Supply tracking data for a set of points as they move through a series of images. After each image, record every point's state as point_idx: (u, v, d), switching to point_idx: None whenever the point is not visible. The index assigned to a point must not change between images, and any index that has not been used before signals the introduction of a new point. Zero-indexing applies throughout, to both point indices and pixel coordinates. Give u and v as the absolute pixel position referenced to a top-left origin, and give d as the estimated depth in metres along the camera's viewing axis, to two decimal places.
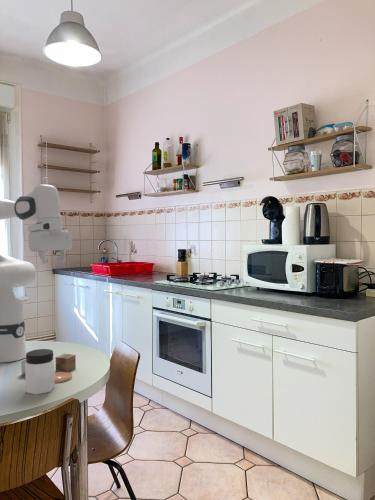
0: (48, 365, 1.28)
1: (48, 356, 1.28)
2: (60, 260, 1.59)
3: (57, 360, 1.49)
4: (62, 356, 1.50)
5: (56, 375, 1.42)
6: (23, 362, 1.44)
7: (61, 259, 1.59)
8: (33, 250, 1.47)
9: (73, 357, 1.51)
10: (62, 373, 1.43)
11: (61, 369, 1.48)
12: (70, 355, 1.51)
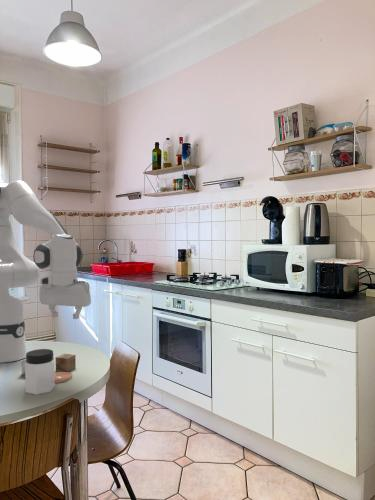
0: (48, 365, 1.28)
1: (48, 356, 1.28)
2: None
3: (57, 360, 1.49)
4: (62, 356, 1.50)
5: (56, 375, 1.42)
6: (23, 362, 1.44)
7: None
8: None
9: (73, 357, 1.51)
10: (62, 373, 1.43)
11: (61, 369, 1.48)
12: (70, 355, 1.51)
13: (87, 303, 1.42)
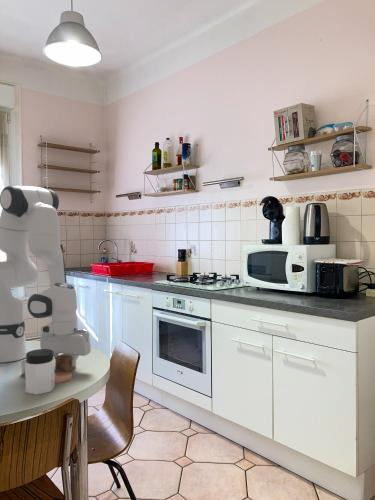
0: (48, 365, 1.28)
1: (48, 356, 1.28)
2: None
3: (57, 360, 1.49)
4: (62, 356, 1.50)
5: (56, 375, 1.42)
6: (23, 362, 1.44)
7: None
8: None
9: None
10: (62, 373, 1.43)
11: (61, 369, 1.48)
12: (70, 355, 1.51)
13: (87, 352, 1.46)
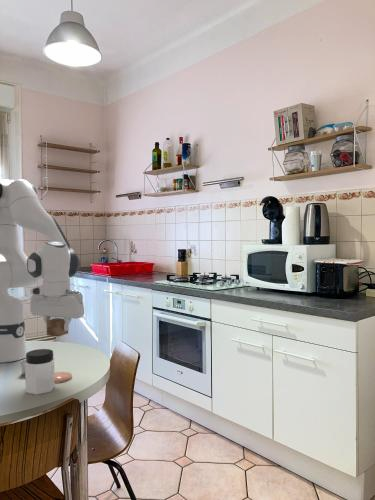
0: (48, 365, 1.28)
1: (48, 356, 1.28)
2: None
3: (48, 324, 1.38)
4: (54, 320, 1.39)
5: (56, 375, 1.42)
6: (23, 362, 1.44)
7: None
8: None
9: None
10: (62, 373, 1.43)
11: (52, 333, 1.38)
12: (62, 319, 1.41)
13: (80, 315, 1.36)
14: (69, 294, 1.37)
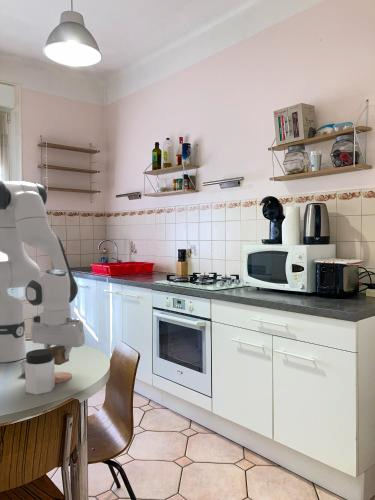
0: (48, 365, 1.28)
1: (48, 356, 1.28)
2: None
3: None
4: (54, 348, 1.40)
5: (56, 375, 1.42)
6: (23, 362, 1.44)
7: None
8: None
9: None
10: (62, 373, 1.43)
11: None
12: (63, 347, 1.41)
13: (81, 343, 1.36)
14: (70, 322, 1.37)
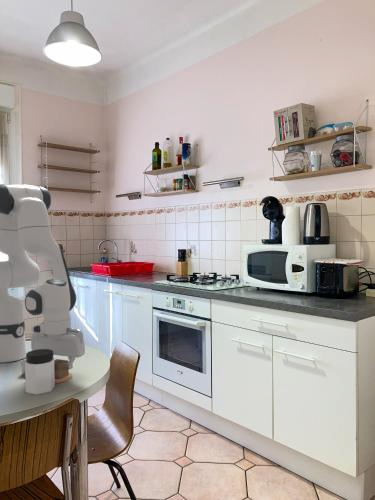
0: (48, 365, 1.28)
1: (48, 356, 1.28)
2: None
3: None
4: (54, 362, 1.40)
5: None
6: (23, 362, 1.44)
7: None
8: None
9: (66, 363, 1.41)
10: None
11: None
12: (63, 361, 1.41)
13: (81, 353, 1.36)
14: (70, 332, 1.38)
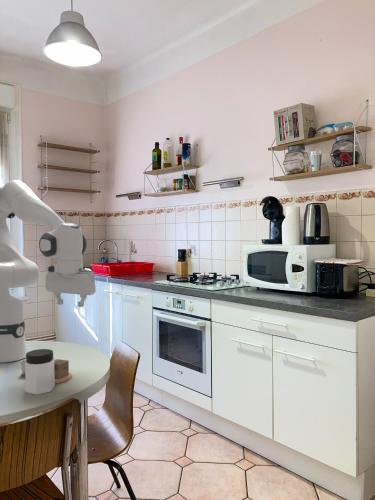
0: (48, 365, 1.28)
1: (48, 356, 1.28)
2: None
3: None
4: (54, 362, 1.40)
5: None
6: (23, 362, 1.44)
7: None
8: None
9: (66, 363, 1.41)
10: None
11: None
12: (63, 361, 1.41)
13: (92, 292, 1.45)
14: (82, 272, 1.46)
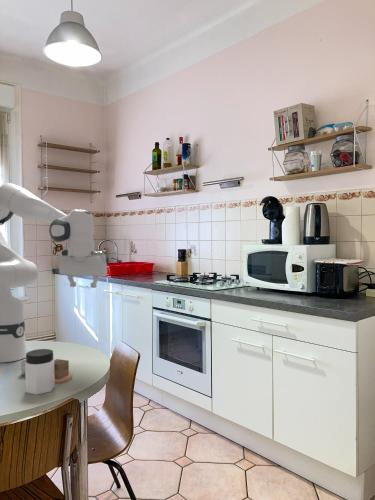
0: (48, 365, 1.28)
1: (48, 356, 1.28)
2: None
3: None
4: (54, 362, 1.40)
5: None
6: (23, 362, 1.44)
7: None
8: None
9: (66, 363, 1.41)
10: None
11: None
12: (63, 361, 1.41)
13: (104, 273, 1.54)
14: (94, 255, 1.55)
